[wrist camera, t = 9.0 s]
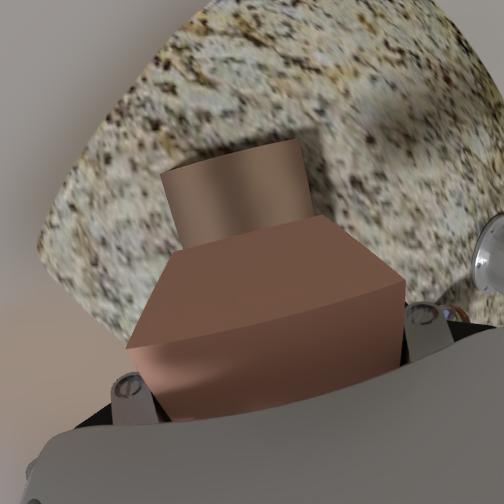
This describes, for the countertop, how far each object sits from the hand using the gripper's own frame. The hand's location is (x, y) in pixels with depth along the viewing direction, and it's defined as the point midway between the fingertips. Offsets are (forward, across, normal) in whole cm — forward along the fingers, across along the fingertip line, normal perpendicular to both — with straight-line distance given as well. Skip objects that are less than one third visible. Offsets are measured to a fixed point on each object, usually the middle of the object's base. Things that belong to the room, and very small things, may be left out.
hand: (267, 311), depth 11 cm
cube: (+1, 0, 0) cm, 1 cm away
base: (+17, 0, 0) cm, 17 cm away
